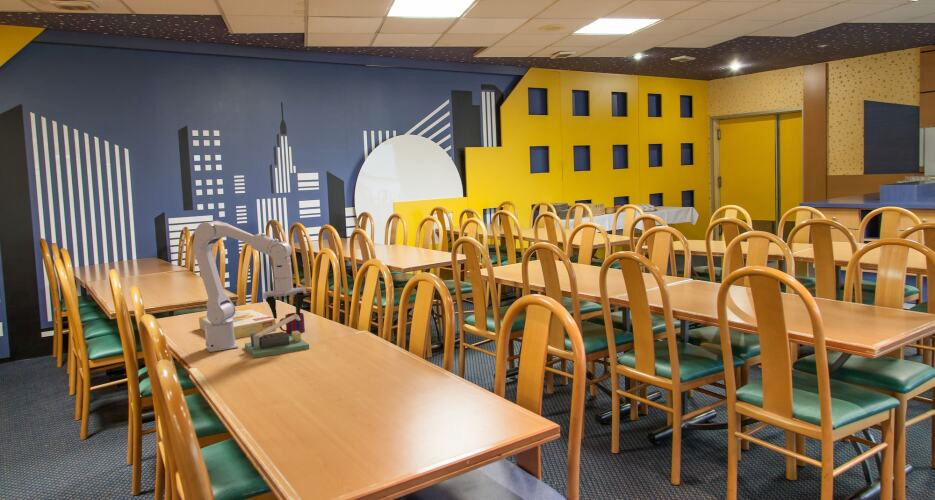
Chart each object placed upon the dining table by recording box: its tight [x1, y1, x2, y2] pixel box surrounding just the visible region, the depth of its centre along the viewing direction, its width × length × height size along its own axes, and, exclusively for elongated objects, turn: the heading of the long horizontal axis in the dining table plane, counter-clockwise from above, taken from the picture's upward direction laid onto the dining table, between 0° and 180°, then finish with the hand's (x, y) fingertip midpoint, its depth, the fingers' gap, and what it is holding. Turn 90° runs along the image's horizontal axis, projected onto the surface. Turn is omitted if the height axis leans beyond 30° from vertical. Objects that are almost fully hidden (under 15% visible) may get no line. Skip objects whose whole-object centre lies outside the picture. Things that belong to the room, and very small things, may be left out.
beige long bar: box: [253, 314, 301, 338], centre depth 223 cm, size 16×4×2 cm, turn 118°
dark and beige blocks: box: [249, 331, 302, 350], centre depth 223 cm, size 16×8×4 cm, turn 119°
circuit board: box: [244, 335, 310, 359], centre depth 223 cm, size 18×16×2 cm
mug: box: [279, 312, 306, 335], centre depth 244 cm, size 7×10×7 cm
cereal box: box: [198, 307, 277, 339], centre depth 254 cm, size 20×6×28 cm
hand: (286, 316), depth 224 cm, fingers open, 7 cm apart
